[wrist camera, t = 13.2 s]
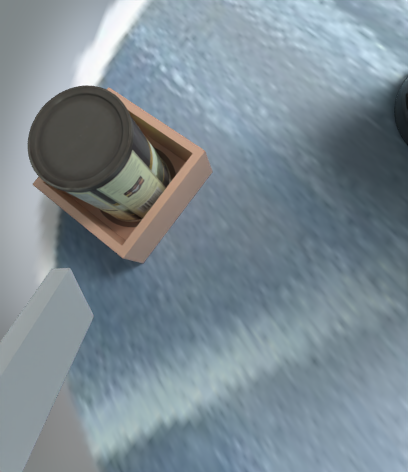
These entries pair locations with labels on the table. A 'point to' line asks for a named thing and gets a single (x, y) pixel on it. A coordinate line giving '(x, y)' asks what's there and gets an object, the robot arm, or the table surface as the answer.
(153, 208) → the planter box
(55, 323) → the robot arm
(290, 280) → the table surface
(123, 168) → the coffee can
